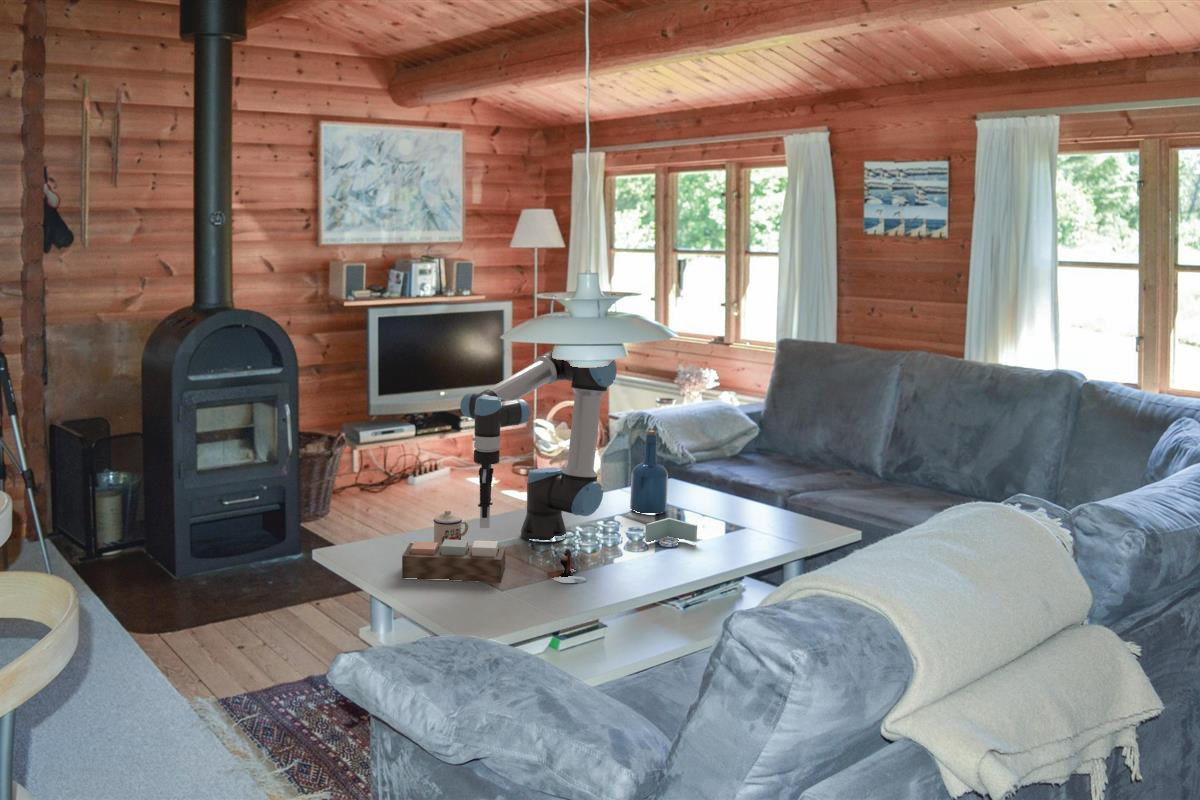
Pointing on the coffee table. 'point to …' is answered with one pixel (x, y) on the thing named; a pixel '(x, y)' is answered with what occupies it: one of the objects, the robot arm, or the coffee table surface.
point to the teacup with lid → (448, 527)
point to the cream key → (485, 548)
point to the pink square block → (424, 548)
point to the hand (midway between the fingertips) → (484, 527)
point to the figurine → (565, 563)
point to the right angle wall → (670, 531)
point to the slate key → (454, 547)
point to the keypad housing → (454, 566)
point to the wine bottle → (649, 481)
